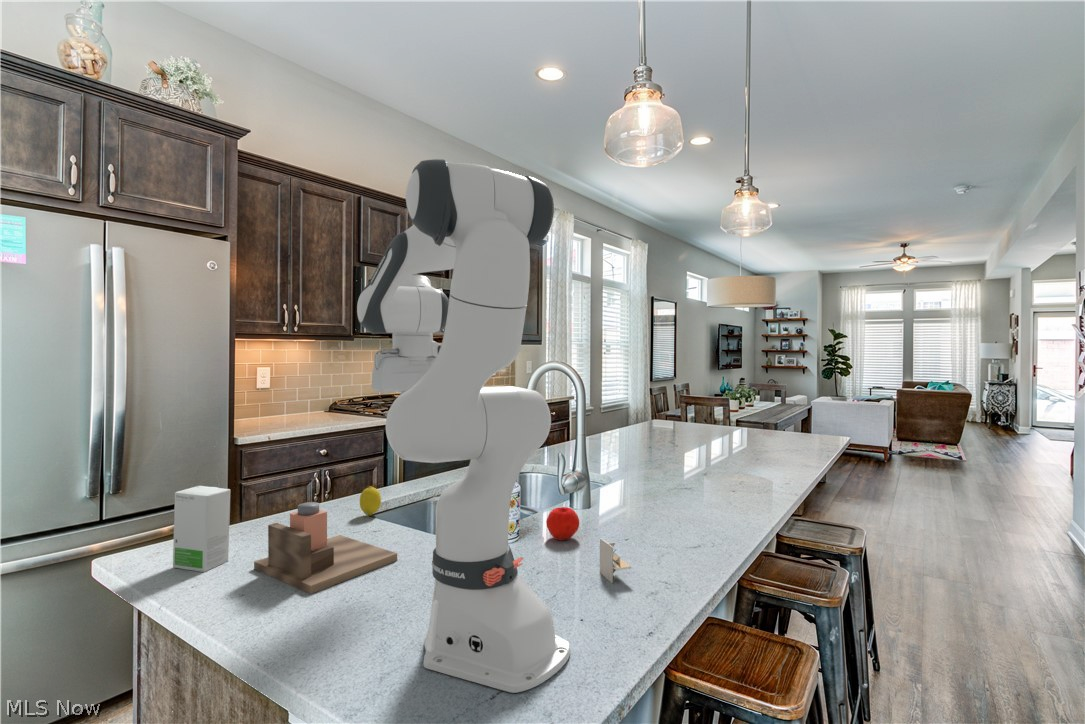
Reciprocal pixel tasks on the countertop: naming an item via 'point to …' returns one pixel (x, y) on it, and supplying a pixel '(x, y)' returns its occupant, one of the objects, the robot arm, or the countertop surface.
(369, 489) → the lemon
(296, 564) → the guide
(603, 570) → the architectural model
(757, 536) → the countertop surface
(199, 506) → the skincare box
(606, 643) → the countertop surface
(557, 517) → the apple
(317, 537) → the pink square bottle
